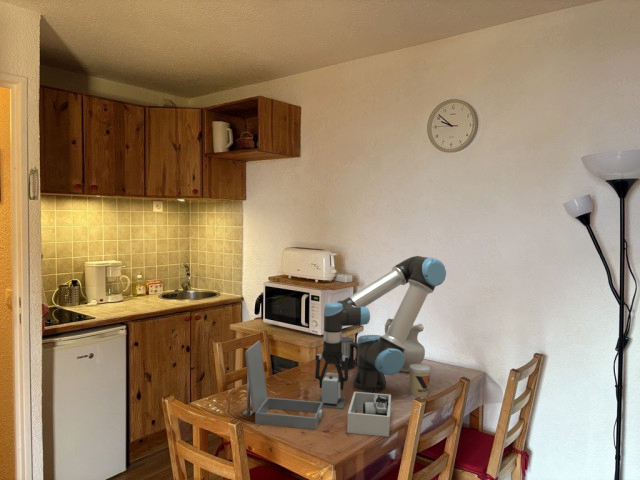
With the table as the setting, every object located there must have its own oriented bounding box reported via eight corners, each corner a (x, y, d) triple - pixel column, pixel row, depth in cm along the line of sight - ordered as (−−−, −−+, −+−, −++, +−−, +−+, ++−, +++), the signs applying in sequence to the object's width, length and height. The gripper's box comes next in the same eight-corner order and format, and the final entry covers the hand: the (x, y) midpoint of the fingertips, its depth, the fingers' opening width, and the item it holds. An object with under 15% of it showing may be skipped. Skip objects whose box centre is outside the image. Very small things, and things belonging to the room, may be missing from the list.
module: (340, 394, 199) (340, 371, 199) (336, 403, 189) (337, 379, 189) (326, 393, 200) (326, 370, 200) (322, 402, 190) (322, 377, 190)
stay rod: (254, 412, 184) (255, 350, 183) (251, 416, 180) (252, 353, 179) (245, 411, 184) (246, 349, 183) (242, 415, 181) (243, 352, 180)
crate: (390, 412, 186) (391, 394, 186) (388, 436, 165) (389, 417, 165) (353, 408, 189) (354, 391, 189) (347, 432, 168) (347, 413, 167)
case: (324, 412, 185) (324, 402, 185) (317, 429, 170) (317, 418, 169) (267, 407, 189) (267, 397, 189) (255, 423, 174) (255, 412, 173)
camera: (361, 412, 186) (362, 387, 185) (384, 413, 186) (385, 388, 185) (364, 430, 170) (365, 402, 170) (389, 430, 170) (390, 403, 170)
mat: (346, 399, 199) (346, 397, 199) (342, 409, 188) (342, 407, 188) (320, 396, 201) (320, 395, 201) (315, 406, 190) (315, 405, 190)
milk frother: (333, 369, 239) (334, 340, 239) (339, 360, 255) (340, 333, 254) (361, 371, 236) (362, 342, 235) (365, 362, 251) (366, 335, 251)
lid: (260, 340, 188) (256, 340, 189) (247, 351, 173) (243, 351, 173) (267, 396, 189) (264, 396, 189) (255, 412, 173) (251, 412, 174)
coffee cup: (417, 399, 201) (418, 371, 200) (403, 391, 209) (404, 365, 209) (434, 395, 205) (435, 368, 205) (420, 388, 214) (421, 362, 213)
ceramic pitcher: (377, 372, 239) (378, 324, 236) (387, 359, 257) (387, 314, 254) (420, 378, 231) (421, 329, 228) (427, 364, 248) (428, 318, 246)
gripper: (356, 340, 196) (355, 395, 197) (311, 337, 199) (310, 391, 200) (354, 344, 188) (353, 402, 189) (308, 341, 192) (306, 397, 193)
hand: (331, 396), depth 195 cm, fingers closed on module, 6 cm apart
